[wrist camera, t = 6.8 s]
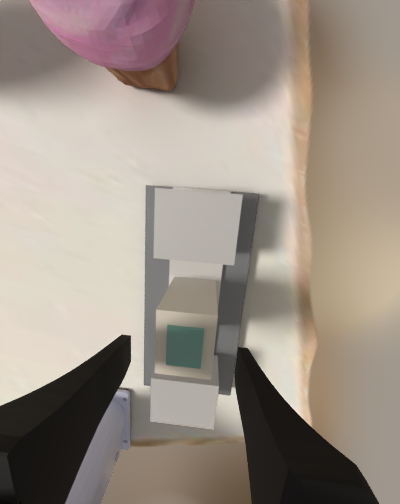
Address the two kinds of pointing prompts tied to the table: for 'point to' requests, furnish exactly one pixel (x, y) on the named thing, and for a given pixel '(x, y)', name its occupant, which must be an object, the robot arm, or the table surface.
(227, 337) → the rail board
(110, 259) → the table surface
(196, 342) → the block
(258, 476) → the robot arm
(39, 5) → the cupcake
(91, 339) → the table surface
